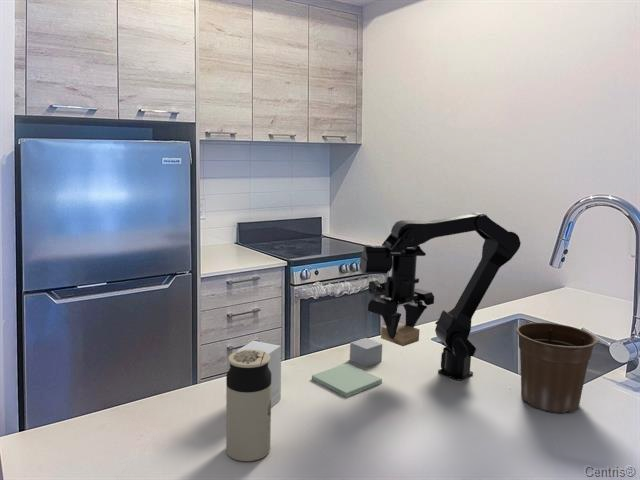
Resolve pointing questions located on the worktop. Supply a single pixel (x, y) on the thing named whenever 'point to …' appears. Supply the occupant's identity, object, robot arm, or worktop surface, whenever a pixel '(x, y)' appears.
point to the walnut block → (401, 335)
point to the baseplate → (346, 379)
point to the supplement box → (270, 366)
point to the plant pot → (553, 365)
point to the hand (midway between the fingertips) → (400, 335)
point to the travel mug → (248, 405)
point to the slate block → (366, 352)
